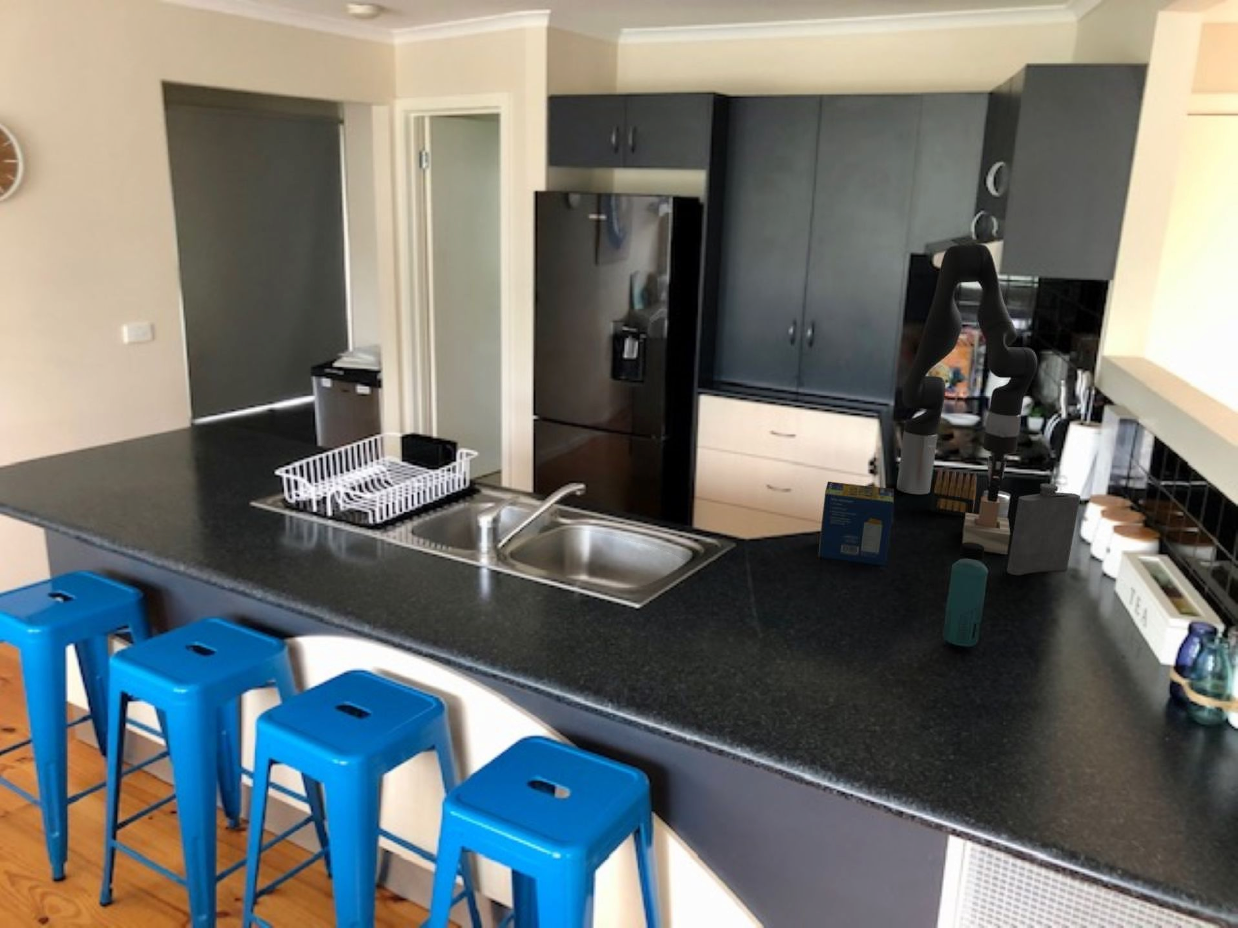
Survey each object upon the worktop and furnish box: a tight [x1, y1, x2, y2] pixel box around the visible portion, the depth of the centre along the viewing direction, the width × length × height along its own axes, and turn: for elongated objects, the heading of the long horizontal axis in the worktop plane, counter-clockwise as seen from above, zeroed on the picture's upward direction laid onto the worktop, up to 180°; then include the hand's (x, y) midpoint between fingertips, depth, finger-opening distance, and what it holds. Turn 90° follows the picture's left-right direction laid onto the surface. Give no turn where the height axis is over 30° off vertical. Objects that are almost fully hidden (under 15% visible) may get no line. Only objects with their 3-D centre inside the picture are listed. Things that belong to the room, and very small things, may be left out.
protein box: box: [818, 481, 895, 567], centre depth 220 cm, size 10×15×16 cm
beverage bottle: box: [942, 542, 989, 647], centre depth 174 cm, size 6×7×20 cm
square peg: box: [977, 495, 1000, 528], centre depth 232 cm, size 4×4×10 cm
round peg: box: [982, 489, 1011, 519], centre depth 244 cm, size 6×6×9 cm
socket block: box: [962, 513, 1011, 555], centre depth 233 cm, size 13×10×5 cm
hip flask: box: [1006, 483, 1081, 576], centre depth 214 cm, size 16×4×20 cm, turn 109°
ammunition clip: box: [930, 467, 977, 518], centre depth 253 cm, size 11×2×12 cm, turn 61°
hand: (991, 496), depth 230 cm, fingers open, 8 cm apart
